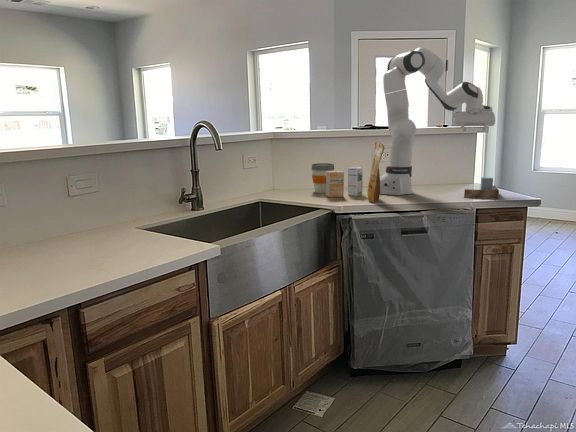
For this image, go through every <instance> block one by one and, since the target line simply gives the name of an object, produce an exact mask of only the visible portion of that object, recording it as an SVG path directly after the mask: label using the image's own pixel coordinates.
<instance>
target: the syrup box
mask: <svg viewBox="0 0 576 432" xmlns="http://www.w3.org/2000/svg"><path fill="white" fill-rule="evenodd" d="M347 195H348V196H355V197H357V196H361V195H363V167H362V166H352V167H351V166H350V167H347Z"/></svg>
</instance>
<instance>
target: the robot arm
mask: <svg viewBox="0 0 576 432" xmlns="http://www.w3.org/2000/svg"><path fill="white" fill-rule="evenodd" d="M445 67H446V66H445V62H444V60H443V59H441V58H440V57H439V56H438V55H437V54H435V53H434V52H433V51H431V50H430V49H428V48H425V47H424V46H423V47H422V46H420V47H417V48H416V49H415V50H409V51H407V52H402V53H399V54H397V55H395V56H393V57H391V59H389V61H388V63H387V68H386V69H387V70H386V72H385V73H384V74H383V79H382V81H383V83H382V84H383V92H384V98H385V99H384V100H385V104H386V110H387V112H386V113H387V125H388V127H387V128H388V132H389V135H390V136H391V137H392V141H391V148H390V151H389V153H390V154H389V165H387V166H385V173H384V174H383V175H381V176H380V195H391V196H403V195H409V194H413V193H414V190H413V185H412V175H413V166H412V159H413V158H412V157H413V156H412V155H413V146H414V142H415V137H416V136H415V135H416V132H417V127H416V124H415V123H414V121H413V120H412V119H410V118H409V106H410V102H409V97H408V90H407V85H406V76H409V75H412V74H415V73H417V72H420V73H421V74H422V75H423V76H424V77H425V78H424V83H425V85H426V86H427V88H428V89H429V90H430V92H431V93H432V94H433V95H434V96H435V97H436V98H437V100H438V101H439V103H440V104H441V105H442V107H443V108H444V109H445V110H447V111H452V112H454V111H455V110H457V108H459V107H460V106H461V105H463V104H464V103H465V111H456V112H454V113H453V118H454V119H453V120H454V122H453V125H454V126H455V127H460V128H461V129H462V131H463V132H467V127H482V129H481V131H482V132H486V131H487V130H486V129H488V127H494V126H495V124H496V115H495V113H494V111H493V107H492V106H489V105H484V94H483V91H482V89H481V88H480V87H479V86H477V85H475V84H473V83H471V82H468V81H463V82H461V83H460V84H458V85H457V86H456V87H454V88H453V89H451V90H449V91H448V92H447V91H445V90H444V88H442V87H441V86H440V84H439V81H440V80H441V79H442V77H443V75H444V73H445Z"/></svg>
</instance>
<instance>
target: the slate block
mask: <svg viewBox="0 0 576 432" xmlns="http://www.w3.org/2000/svg"><path fill="white" fill-rule="evenodd" d="M493 186H494V178H493V177H480V188H479V190H492V187H493Z"/></svg>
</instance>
